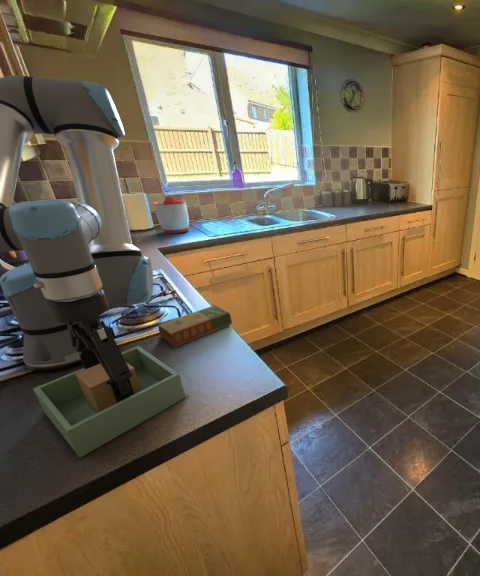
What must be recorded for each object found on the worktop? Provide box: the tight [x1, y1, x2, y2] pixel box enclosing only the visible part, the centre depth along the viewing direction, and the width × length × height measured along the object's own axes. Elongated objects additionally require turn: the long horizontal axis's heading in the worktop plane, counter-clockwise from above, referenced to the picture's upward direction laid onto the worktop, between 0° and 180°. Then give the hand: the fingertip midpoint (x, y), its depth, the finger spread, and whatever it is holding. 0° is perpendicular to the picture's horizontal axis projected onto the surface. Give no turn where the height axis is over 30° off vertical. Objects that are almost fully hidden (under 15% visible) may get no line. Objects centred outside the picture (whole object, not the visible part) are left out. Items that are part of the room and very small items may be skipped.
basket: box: [32, 345, 186, 458], centre depth 65 cm, size 18×18×6 cm
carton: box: [157, 304, 233, 348], centre depth 92 cm, size 8×16×4 cm, turn 143°
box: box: [75, 362, 142, 414], centre depth 64 cm, size 7×7×8 cm
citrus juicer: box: [153, 196, 190, 235], centre depth 186 cm, size 16×17×20 cm
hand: (112, 390), depth 65 cm, fingers open, 13 cm apart
